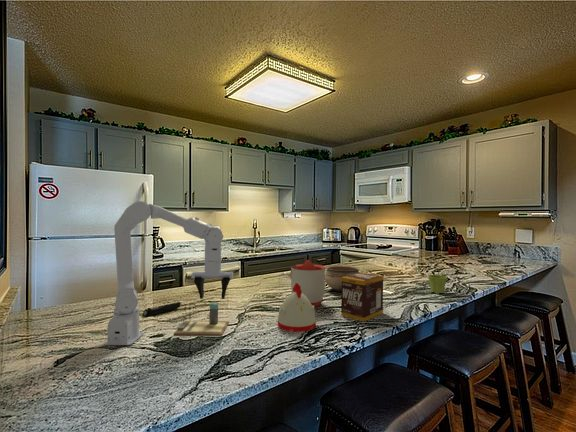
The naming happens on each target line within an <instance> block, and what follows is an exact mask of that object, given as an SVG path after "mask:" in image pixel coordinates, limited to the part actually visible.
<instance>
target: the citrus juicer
mask: <svg viewBox="0 0 576 432" xmlns="http://www.w3.org/2000/svg"><path fill="white" fill-rule="evenodd" d="M325 274H326V266H324V265H321V264H313V262H312V261H311V260H310V259H307V260H305V262H304V263H301V264H300V263H299V264H298V263H297V264H295V266H294V267H292V266H291V267H290V273H288V274H287V278H290V282H291V284H290V285H291V288H290V289H291V294H292V293H293V288H294V285H295V283H298V284H299V286H301V290H302V294H304V295H305V296H306V297H307V298H308V300H309V301H310V303H311V305H312V306H314V308H316V307H319V306H321V305H322V302H323V298H324V295H325V286H326V281H325Z"/></svg>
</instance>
